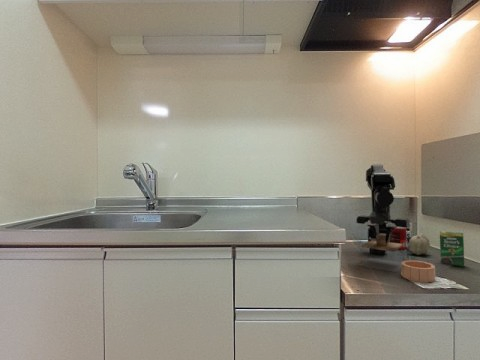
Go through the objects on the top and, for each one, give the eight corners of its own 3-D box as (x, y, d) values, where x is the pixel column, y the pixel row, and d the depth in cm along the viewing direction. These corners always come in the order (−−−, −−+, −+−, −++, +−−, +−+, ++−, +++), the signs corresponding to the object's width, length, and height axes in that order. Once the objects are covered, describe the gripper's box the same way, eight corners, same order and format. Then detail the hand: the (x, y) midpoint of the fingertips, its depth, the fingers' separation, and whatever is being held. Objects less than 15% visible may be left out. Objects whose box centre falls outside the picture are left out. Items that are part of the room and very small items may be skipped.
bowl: (398, 279, 105) (398, 265, 105) (405, 272, 112) (405, 258, 112) (432, 285, 98) (431, 270, 98) (437, 277, 106) (436, 263, 106)
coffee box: (439, 263, 122) (439, 231, 122) (440, 262, 124) (440, 230, 124) (464, 267, 117) (463, 234, 117) (464, 265, 119) (464, 232, 119)
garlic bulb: (427, 253, 139) (427, 231, 139) (435, 257, 131) (434, 235, 131) (405, 252, 141) (405, 231, 141) (411, 256, 133) (410, 234, 133)
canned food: (404, 246, 152) (404, 225, 152) (408, 250, 144) (407, 227, 144) (388, 245, 154) (388, 224, 154) (390, 249, 147) (390, 227, 147)
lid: (361, 247, 120) (361, 235, 120) (371, 242, 129) (371, 230, 129) (394, 251, 112) (394, 238, 112) (402, 245, 121) (402, 234, 121)
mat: (358, 266, 120) (358, 265, 120) (370, 259, 130) (370, 257, 130) (396, 273, 111) (396, 272, 110) (406, 265, 121) (406, 263, 121)
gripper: (351, 204, 120) (351, 242, 120) (402, 206, 108) (403, 249, 108) (361, 202, 129) (361, 238, 129) (409, 204, 116) (410, 244, 116)
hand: (382, 242), depth 120 cm, fingers closed on lid, 3 cm apart
